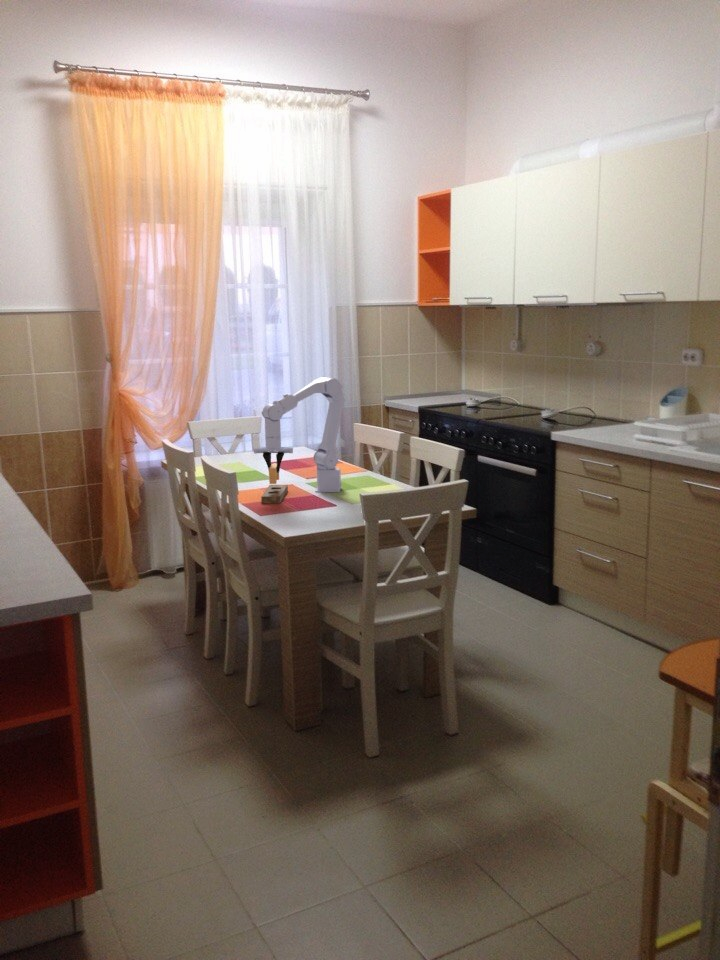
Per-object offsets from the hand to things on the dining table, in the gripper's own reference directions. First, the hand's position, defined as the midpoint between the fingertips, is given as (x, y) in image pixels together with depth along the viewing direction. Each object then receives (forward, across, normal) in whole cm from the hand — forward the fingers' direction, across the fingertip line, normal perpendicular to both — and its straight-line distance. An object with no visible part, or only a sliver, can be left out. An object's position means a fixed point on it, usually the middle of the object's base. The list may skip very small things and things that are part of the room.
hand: (274, 472), depth 312 cm
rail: (+10, 0, 0) cm, 10 cm away
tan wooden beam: (+4, 0, 0) cm, 4 cm away
